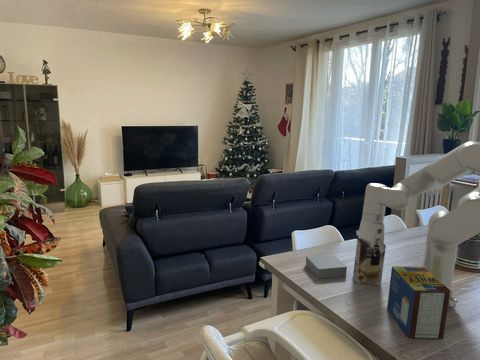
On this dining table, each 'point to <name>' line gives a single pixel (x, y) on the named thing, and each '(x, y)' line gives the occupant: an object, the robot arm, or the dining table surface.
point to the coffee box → (367, 265)
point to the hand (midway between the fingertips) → (367, 259)
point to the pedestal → (326, 266)
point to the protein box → (418, 302)
